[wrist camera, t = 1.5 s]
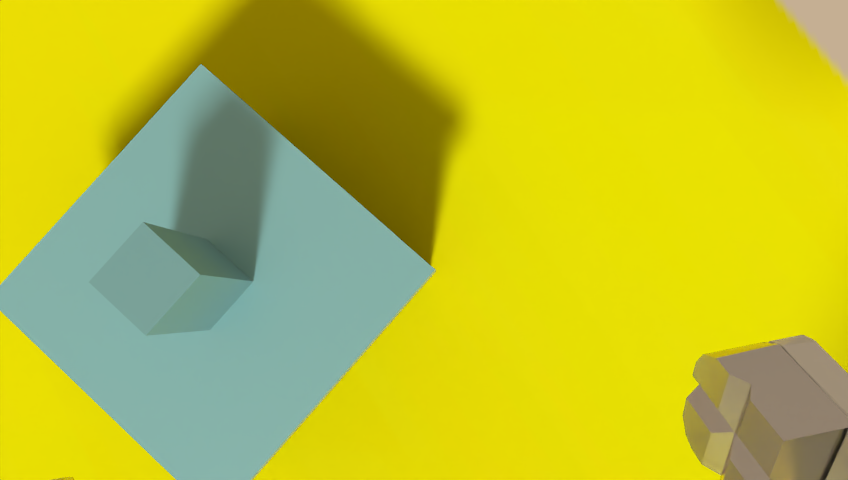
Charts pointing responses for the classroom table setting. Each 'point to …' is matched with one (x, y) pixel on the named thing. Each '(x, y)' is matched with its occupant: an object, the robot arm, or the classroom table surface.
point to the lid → (211, 286)
